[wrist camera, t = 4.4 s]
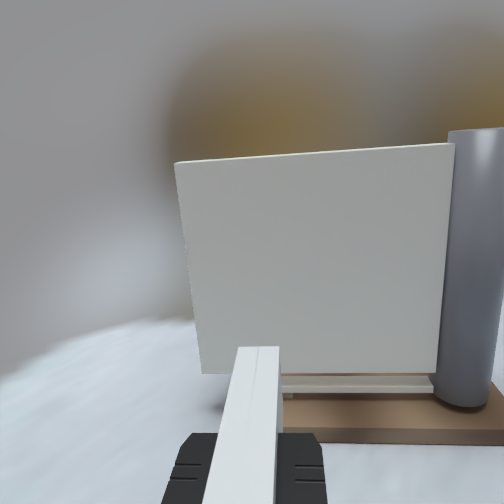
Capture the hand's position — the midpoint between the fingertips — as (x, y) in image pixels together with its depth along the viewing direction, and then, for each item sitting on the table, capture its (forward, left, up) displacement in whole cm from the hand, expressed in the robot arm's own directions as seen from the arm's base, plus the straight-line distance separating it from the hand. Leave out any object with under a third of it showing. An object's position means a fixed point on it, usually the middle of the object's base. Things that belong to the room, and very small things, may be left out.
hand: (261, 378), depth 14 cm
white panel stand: (0, -8, -6) cm, 10 cm away
